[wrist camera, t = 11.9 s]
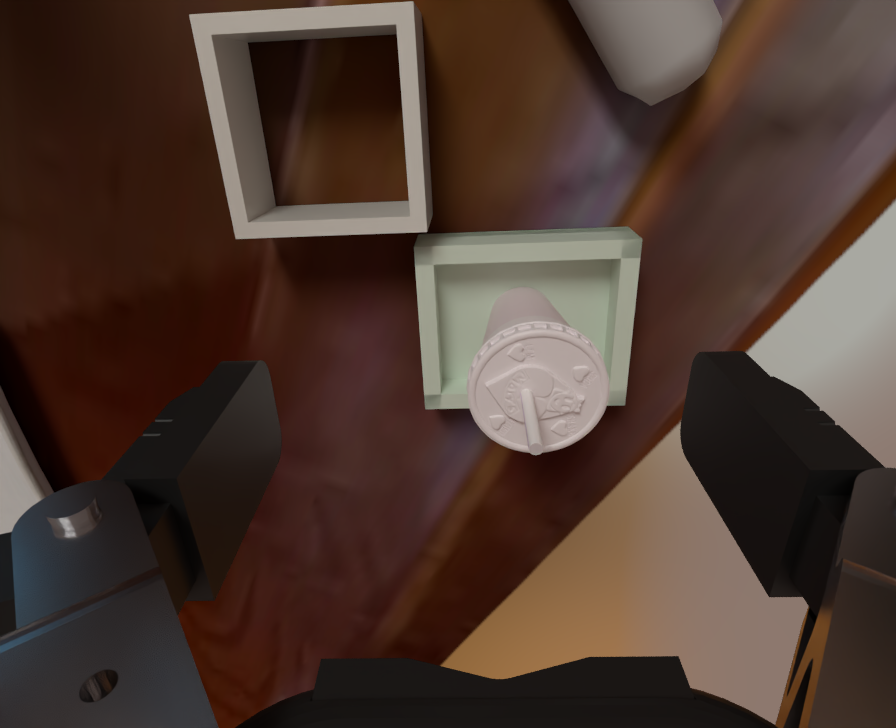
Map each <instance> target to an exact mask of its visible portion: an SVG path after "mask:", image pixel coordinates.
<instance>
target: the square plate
mask: <svg viewBox="0 0 896 728" xmlns="http://www.w3.org/2000/svg"><path fill="white" fill-rule="evenodd" d="M53 493H54V492H53V490H52V488H51V486H50V484H49V482H48V481H47V479H46V477H45V475H44V473H43V471H42V470H41V468H40V466H39V464H38V462H37V460H36V458H35V456H34V454H33V452H32V450H31V448H30V446H29V444H28V442H27V440H26V438H25V436H24V434H23V432H22V430H21V428H20V426H19V424H18V422H17V420H16V418H15V416H14V414H13V412H12V410H11V408H10V406H9V404H8V402H7V400H6V397H5V395H4V393H3V391H2V389H1V386H0V534H4V533H9V532H12V530H13V527H14V525H15V524H16V522H17V521H18V519H19V518H20V517H21V516H22V515H23V514H24V513H25V512H26V511H27V510H28V509H29V508H31V507H32V506H33V505H35V504H36V503H37V502H39V501H40V500H42V499H44V498H45V497H47V496H49V495H51V494H53Z"/></svg>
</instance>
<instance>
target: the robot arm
mask: <svg viewBox="0 0 896 728" xmlns="http://www.w3.org/2000/svg"><path fill="white" fill-rule="evenodd" d="M680 431H681V433H680V434H681V444H682V449H683V452H684V455H685V457H686V459H687V461H688V462H689V464H690V466H691V467H692V469H693V471H694V472H695V474H696V476H697V477H698V479H699V481H700V482H701V484H702V486H703V487H704V489H705V491H706V492H707V494H708V496H709V497H710V499H711V501H712V502H713V504H714V506H715V507H716V509H717V510H718V512H719V514H720V516H721V517H722V519H723V521H724V522H725V524H726V526H727V527H728V529H729V531H730V532H731V534H732V536H733V537H734V539H735V540H736V542H737V544H738V546H739V547H740V549H741V551H742V552H743V554H744V556H745V558H746V559H747V561H748V563H749V564H750V565H751V567H752V569H753V571H754V573H755V574H756V576H757V577H758V579H759V581H760V583H761V584H762V586H763V587H764V589H765V591H766V593H767V594H768V596H769V597H803V598H804V599H805V601H806V602H807V604H808V605H809V607H808V609H807V612H806V615H805V618H804V620H803V623H802V627H801V630H800V634H799V638H798V642H797V646H796V650H795V653H794V657H793V661H792V665H791V668H790V672H789V676H788V680H787V684H786V687H785V691H784V695H783V699H782V703H781V706H780V710H779V714H778V717H777V721H776V724H775V725H774V724H772V723H771V722H769V721H767V720H765V719H764V718H762V717H760V716H758V715H757V714H755V713H753V712H751V711H749V710H748V709H746V708H743V707H741V706H739V705H737V704H735V703H732V702H730V701H728V700H726V699H724V698H720V697H718V696H715V695H712V694H709V693H706V692H704V691H700V690H696V689H692V688H690V686H689V683H688V680H687V678H686V675H685V673H684V670H683V667H682V665H681V662H680V659H679V657H678V656H672V657H671V656H669V657H668V656H665V657H664V656H663V657H588V658H584V659H581V660H577V661H573V662H569V663H565V664H561V665H558V666H554V667H550V668H547V669H543V670H539V671H535V672H531V673H527V674H524V675H520V676H516V677H512V678H508V679H490V678H486V677H482V676H478V675H474V674H470V673H466V672H462V671H458V670H454V669H450V668H445V667H441V666H437V665H433V664H429V663H425V662H421V661H417V660H413V659H409V658H377V659H321V662H320V667H319V671H318V675H317V679H316V684H315V688H314V690H310V691H307V692H303V693H300V694H297V695H295V696H292V697H290V698H287V699H285V700H282V701H280V702H278V703H276V704H274V705H272V706H270V707H268V708H266V709H264V710H262V711H260V712H258V713H257V714H255V715H254V716H252V717H251V718H249V719H247V720H246V721H244V722H243V723H241V724H240V725H238V726H237V727H236V728H896V468H885V467H884V466H883V465H882V464H881V463H880V462H879V461H878V460H876V459H875V458H874V457H873V456H872V455H871V454H870V453H869V452H868V451H867V450H866V449H864V448H863V447H862V446H861V445H860V444H859V443H858V442H857V441H856V440H855V439H853V438H852V437H851V436H850V435H849V434H848V433H847V432H846V431H845V430H844V429H843V428H841V427H840V426H839V425H835V421H834V420H833V419H832V418H830V417H829V416H828V415H827V414H826V413H825V412H824V411H820V409H819V406H817V405H816V404H815V403H814V402H813V401H812V400H811V399H810V398H809V397H808V396H806V395H805V394H804V393H803V392H802V391H801V390H799V389H797V388H795V387H793V386H791V385H789V384H787V383H785V382H783V381H781V380H780V379H778V378H775V377H770V376H769V375H768V374H767V373H766V372H765V371H764V370H763V369H762V368H761V367H760V366H759V365H758V364H757V363H756V362H755V361H754V360H753V359H752V358H751V357H749V356H748V355H747V354H746V353H745V352H743V351H725V352H699V353H698V354H697V355H696V356H695V358H694V360H693V363H692V367H691V372H690V378H689V383H688V389H687V394H686V399H685V405H684V410H683V416H682V421H681V430H680ZM281 443H282V440H281V429H280V424H279V419H278V414H277V409H276V404H275V399H274V394H273V388H272V383H271V378H270V374H269V370H268V367H267V365H266V364H265V362H264V361H222V362H220V363H219V364H218V366H217V367H216V368H215V369H214V370H213V372H212V373H211V374H210V375H209V376H208V378H207V379H206V380H205V381H204V383H203V384H202V385H201V386H200V387H193V388H192V389H190V390H189V391H187V392H185V393H184V394H182V395H180V396H179V397H177V398H176V399H174V400H172V401H171V402H169V404H168V405H167V406H166V407H165V408H164V409H163V410H162V412H161V413H160V414H159V415H158V416H157V417H156V418H155V422H152V423H151V424H150V425H149V426H148V427H147V429H146V430H145V431H144V432H143V436H140V437H139V438H138V439H137V440H136V441H135V442H134V443H133V444H132V446H131V447H130V448H129V449H128V450H127V451H126V452H125V454H124V455H123V456H122V457H121V458H120V459H119V460H118V462H117V463H116V464H115V465H114V466H113V467H112V468H111V469H110V471H109V472H108V473H107V474H106V475H105V476H104V477H103V479H102V480H96V481H89V482H84V483H80V484H76V485H73V486H70V487H67V488H64V489H62V490H59V491H57V492H55V493H53V494H51V495H49V496H47V497H45V498H44V499H42V500H40V501H39V502H37V503H36V504H35V505H33V506H32V507H31V508H29V509H28V510H27V511H26V512H25V513H24V514H23V515H22V516H21V517H20V518H19V519H18V521H17V522H16V524H15V525H14V527H13V530H12V532H9V533H4V534H0V728H218V726H217V723H216V720H215V717H214V715H213V712H212V709H211V706H210V704H209V701H208V698H207V695H206V693H205V690H204V687H203V685H202V682H201V679H200V676H199V674H198V671H197V668H196V665H195V663H194V660H193V657H192V655H191V652H190V649H189V646H188V644H187V641H186V638H185V635H184V633H183V630H182V627H181V624H180V622H179V619H178V614H179V612H180V610H181V608H182V606H183V604H184V602H185V601H215V598H216V596H217V594H218V592H219V590H220V588H221V585H222V583H223V581H224V579H225V577H226V575H227V572H228V570H229V568H230V566H231V564H232V562H233V560H234V557H235V555H236V553H237V551H238V549H239V547H240V544H241V542H242V540H243V538H244V536H245V534H246V531H247V529H248V527H249V525H250V523H251V521H252V518H253V516H254V514H255V512H256V510H257V508H258V505H259V503H260V501H261V499H262V497H263V495H264V492H265V490H266V488H267V486H268V484H269V482H270V480H271V477H272V475H273V473H274V471H275V469H276V467H277V464H278V462H279V459H280V454H281Z"/></svg>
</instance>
